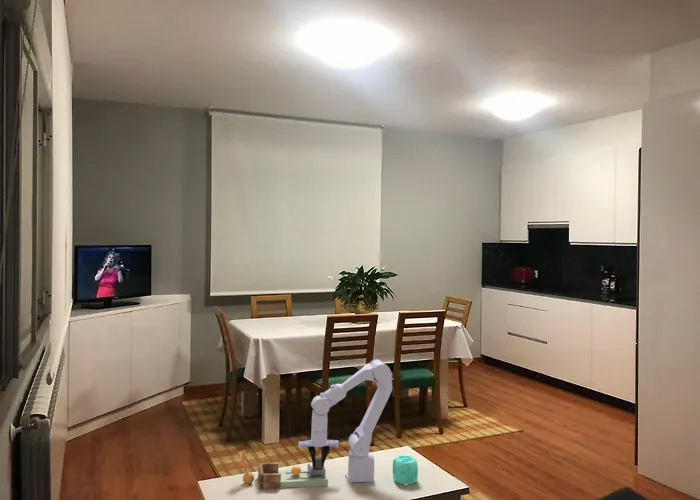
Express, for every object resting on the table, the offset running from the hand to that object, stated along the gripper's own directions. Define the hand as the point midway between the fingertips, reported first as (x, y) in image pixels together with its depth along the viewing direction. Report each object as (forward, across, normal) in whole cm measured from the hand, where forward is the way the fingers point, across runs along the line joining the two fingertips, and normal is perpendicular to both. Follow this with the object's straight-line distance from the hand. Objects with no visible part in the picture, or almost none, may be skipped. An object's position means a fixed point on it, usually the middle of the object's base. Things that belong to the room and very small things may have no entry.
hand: (317, 466), depth 214 cm
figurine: (+5, +26, 0) cm, 26 cm away
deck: (+5, +6, 0) cm, 7 cm away
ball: (+1, +8, 0) cm, 8 cm away
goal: (+5, +18, 0) cm, 18 cm away
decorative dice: (+5, -32, +4) cm, 33 cm away
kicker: (+3, 0, 0) cm, 3 cm away
